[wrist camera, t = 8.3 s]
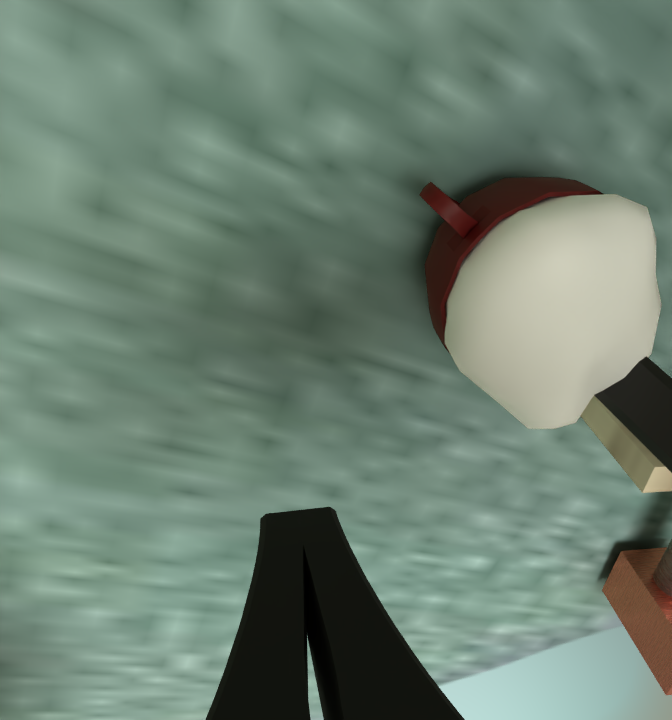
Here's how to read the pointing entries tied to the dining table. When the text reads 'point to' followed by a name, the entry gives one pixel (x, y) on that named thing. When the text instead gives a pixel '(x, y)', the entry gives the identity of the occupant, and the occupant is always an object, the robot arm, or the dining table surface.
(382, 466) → the dining table surface
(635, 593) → the lock pin
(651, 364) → the cocoa
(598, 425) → the dock
